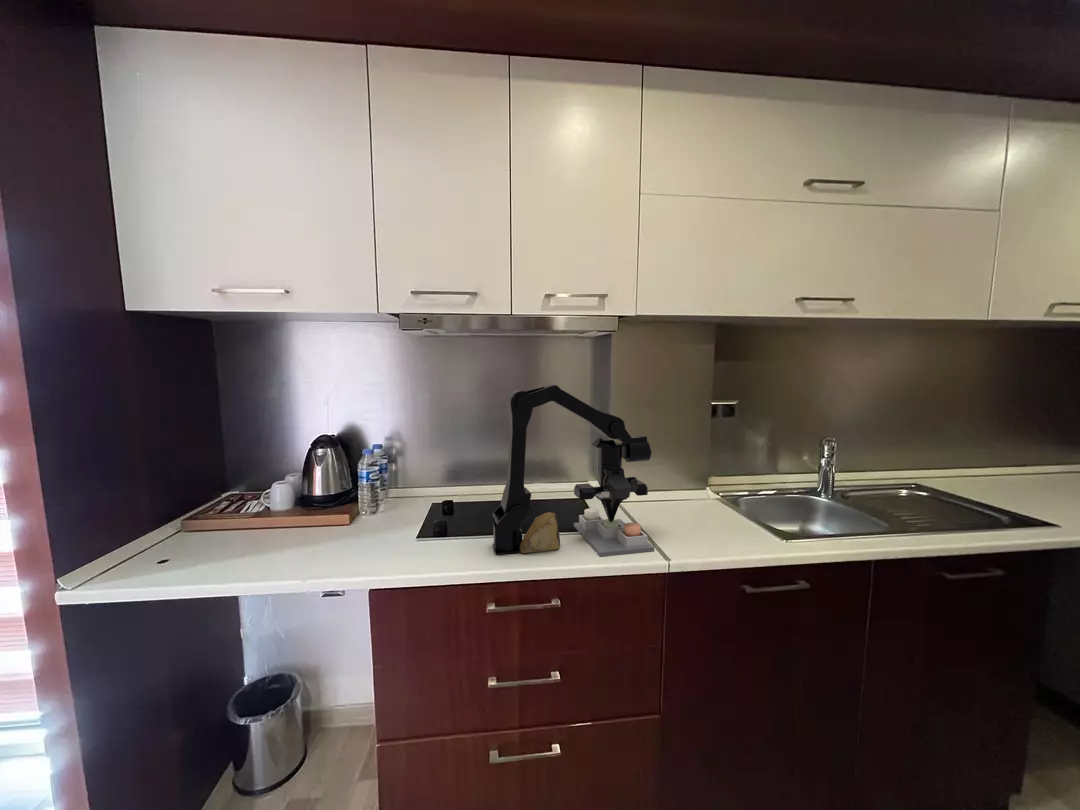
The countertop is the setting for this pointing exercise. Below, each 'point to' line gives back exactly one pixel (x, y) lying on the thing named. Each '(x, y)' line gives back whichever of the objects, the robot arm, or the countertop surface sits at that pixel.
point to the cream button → (591, 514)
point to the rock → (541, 535)
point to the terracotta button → (632, 529)
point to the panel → (611, 538)
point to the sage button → (610, 524)
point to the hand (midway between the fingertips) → (610, 521)
